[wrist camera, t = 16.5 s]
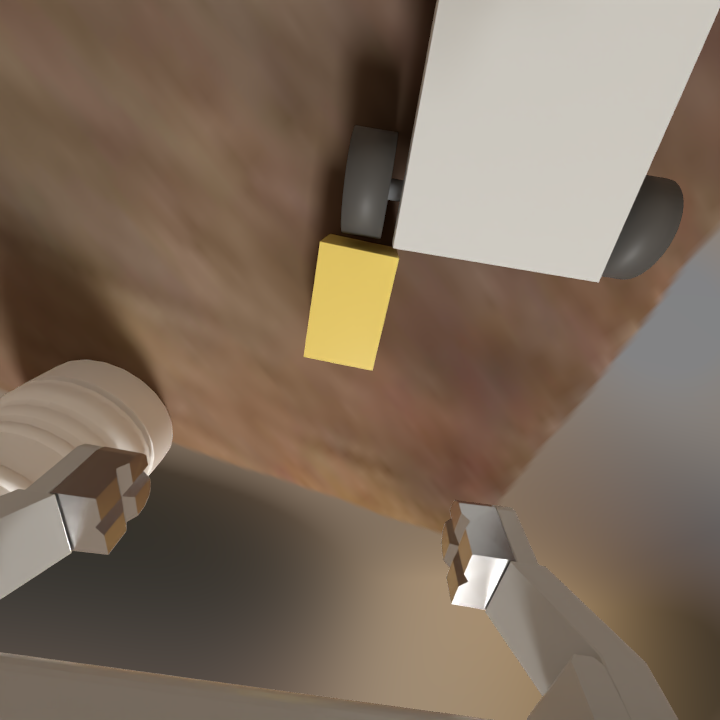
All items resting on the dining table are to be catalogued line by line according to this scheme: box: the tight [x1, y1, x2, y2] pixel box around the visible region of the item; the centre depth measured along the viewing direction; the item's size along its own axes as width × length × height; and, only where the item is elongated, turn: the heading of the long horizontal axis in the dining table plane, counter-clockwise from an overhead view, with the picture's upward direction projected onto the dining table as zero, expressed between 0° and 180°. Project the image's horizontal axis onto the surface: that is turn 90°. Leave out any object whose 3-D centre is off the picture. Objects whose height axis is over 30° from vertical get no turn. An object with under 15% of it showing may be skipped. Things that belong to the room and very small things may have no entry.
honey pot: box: [0, 360, 173, 496], centre depth 27 cm, size 13×13×18 cm
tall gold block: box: [304, 234, 399, 370], centre depth 26 cm, size 5×8×5 cm, turn 169°
